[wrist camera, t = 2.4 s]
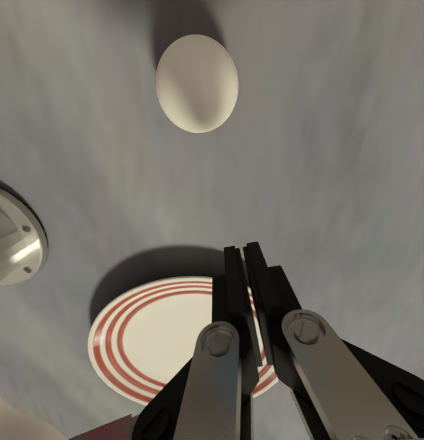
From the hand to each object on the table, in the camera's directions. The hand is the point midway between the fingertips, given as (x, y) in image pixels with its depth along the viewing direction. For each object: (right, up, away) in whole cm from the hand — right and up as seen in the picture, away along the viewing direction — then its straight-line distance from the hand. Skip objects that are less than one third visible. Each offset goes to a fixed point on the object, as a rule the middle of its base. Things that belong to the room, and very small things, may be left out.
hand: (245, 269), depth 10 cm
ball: (-3, +12, +5) cm, 13 cm away
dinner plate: (-4, -15, +20) cm, 26 cm away
